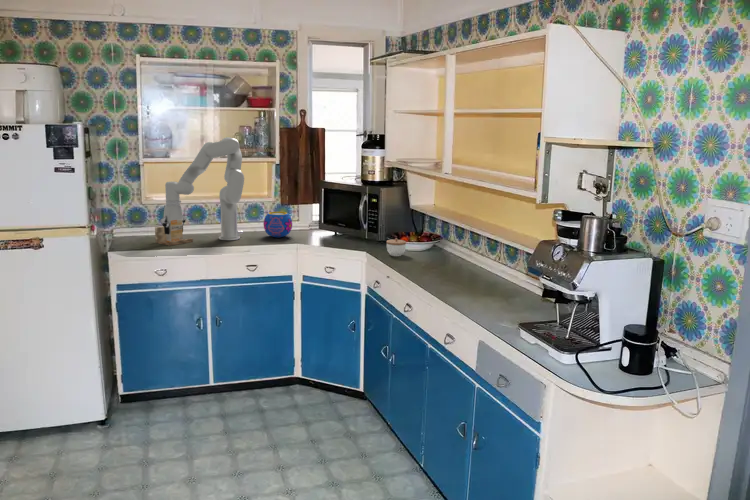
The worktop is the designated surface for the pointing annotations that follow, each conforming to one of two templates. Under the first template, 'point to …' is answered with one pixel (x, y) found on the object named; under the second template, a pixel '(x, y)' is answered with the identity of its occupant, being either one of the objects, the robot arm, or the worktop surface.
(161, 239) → the patterned wooden bookend
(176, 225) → the supplement box
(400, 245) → the lidded jar
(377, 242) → the worktop surface
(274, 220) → the ceramic pot
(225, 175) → the robot arm
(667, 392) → the worktop surface
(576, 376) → the worktop surface
